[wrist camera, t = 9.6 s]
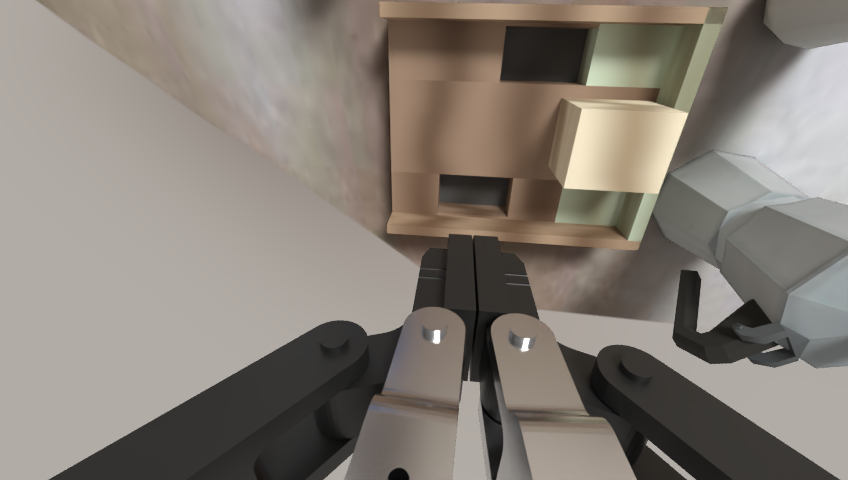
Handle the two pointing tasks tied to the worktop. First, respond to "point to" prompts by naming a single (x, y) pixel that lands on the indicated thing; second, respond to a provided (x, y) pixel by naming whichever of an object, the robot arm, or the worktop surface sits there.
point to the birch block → (614, 144)
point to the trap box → (525, 111)
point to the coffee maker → (759, 262)
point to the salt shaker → (808, 21)
